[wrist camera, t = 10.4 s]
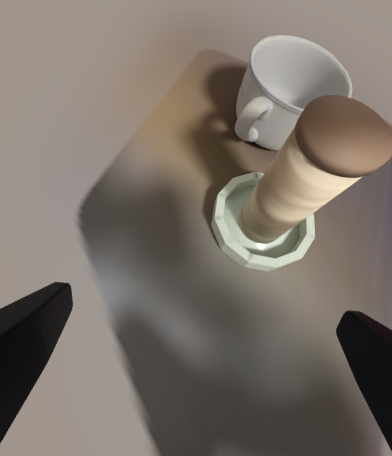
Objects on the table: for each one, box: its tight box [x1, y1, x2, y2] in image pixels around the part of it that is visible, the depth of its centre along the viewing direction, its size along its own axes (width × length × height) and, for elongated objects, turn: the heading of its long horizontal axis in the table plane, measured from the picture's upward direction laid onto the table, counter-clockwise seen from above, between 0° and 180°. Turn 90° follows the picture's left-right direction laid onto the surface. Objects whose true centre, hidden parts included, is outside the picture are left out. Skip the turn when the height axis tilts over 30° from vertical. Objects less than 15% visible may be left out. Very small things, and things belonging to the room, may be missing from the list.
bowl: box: [211, 172, 315, 272], centre depth 23 cm, size 10×10×2 cm
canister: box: [238, 95, 392, 244], centre depth 17 cm, size 5×5×12 cm
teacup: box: [235, 35, 352, 151], centre depth 25 cm, size 14×11×8 cm
